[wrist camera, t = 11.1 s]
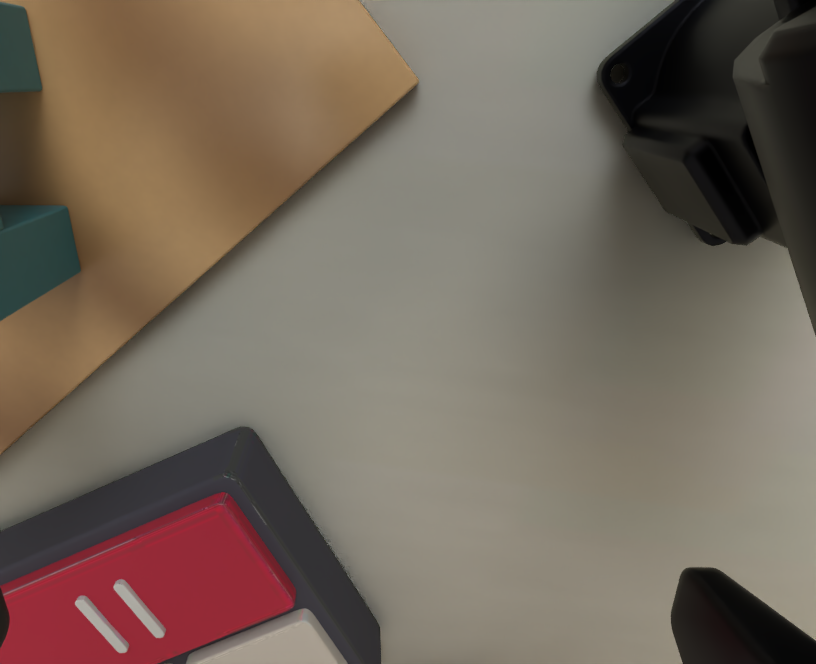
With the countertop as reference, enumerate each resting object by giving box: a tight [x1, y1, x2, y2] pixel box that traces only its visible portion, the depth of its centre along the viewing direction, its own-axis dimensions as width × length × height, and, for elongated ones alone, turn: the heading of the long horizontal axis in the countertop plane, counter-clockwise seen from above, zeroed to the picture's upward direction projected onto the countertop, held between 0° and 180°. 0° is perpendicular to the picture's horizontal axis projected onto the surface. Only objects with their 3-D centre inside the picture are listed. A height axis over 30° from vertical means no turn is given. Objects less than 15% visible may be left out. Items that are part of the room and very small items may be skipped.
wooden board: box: [0, 0, 419, 455], centre depth 17 cm, size 20×12×1 cm, turn 130°
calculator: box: [0, 427, 381, 664], centre depth 22 cm, size 11×4×15 cm
